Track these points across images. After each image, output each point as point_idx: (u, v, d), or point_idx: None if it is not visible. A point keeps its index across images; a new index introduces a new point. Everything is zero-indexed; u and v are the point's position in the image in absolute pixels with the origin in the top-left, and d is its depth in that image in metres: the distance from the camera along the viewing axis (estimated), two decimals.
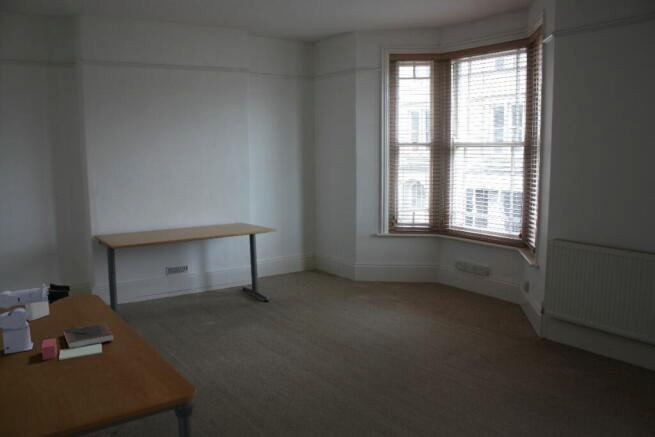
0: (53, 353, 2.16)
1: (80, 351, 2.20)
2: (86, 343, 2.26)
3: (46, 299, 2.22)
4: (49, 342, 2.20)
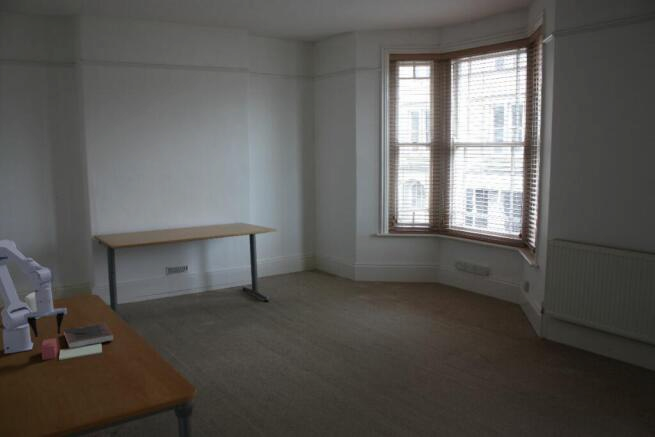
0: (53, 353, 2.16)
1: (80, 351, 2.20)
2: (86, 343, 2.26)
3: (24, 317, 2.15)
4: (49, 342, 2.20)
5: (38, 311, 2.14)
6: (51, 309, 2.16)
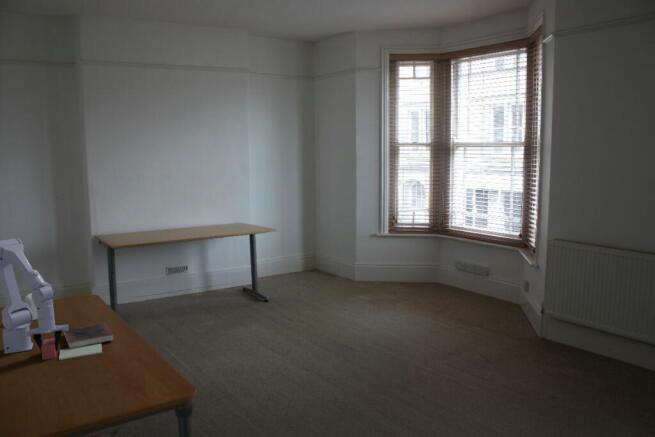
0: (53, 353, 2.15)
1: (80, 351, 2.20)
2: (86, 343, 2.26)
3: (26, 334, 2.16)
4: (49, 341, 2.20)
5: (40, 328, 2.15)
6: (53, 326, 2.17)
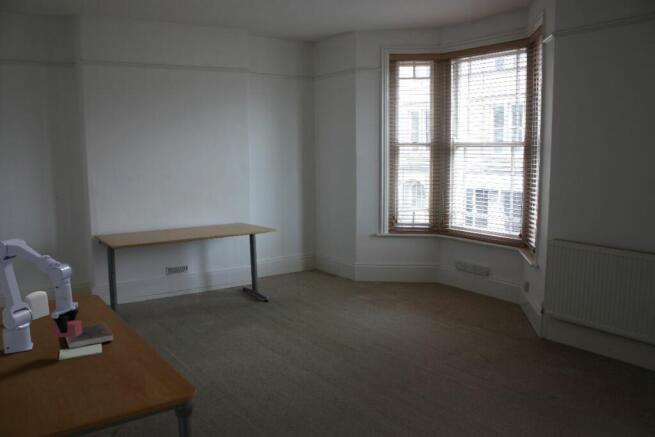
0: (80, 328, 2.20)
1: (80, 351, 2.20)
2: (86, 343, 2.26)
3: (53, 317, 2.11)
4: None
5: (65, 307, 2.15)
6: None
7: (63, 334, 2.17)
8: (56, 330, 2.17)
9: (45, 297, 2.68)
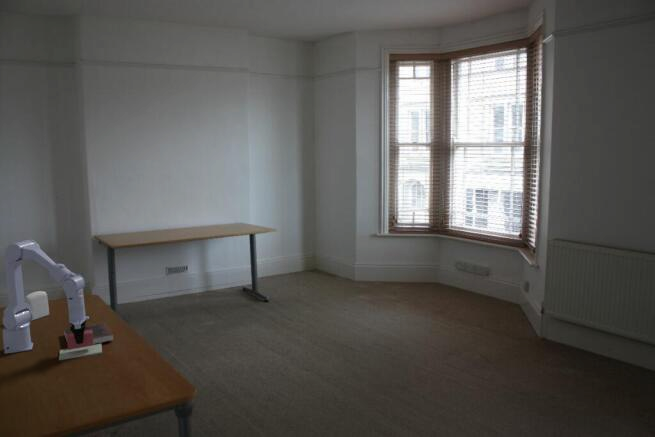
0: None
1: (80, 351, 2.20)
2: None
3: (77, 327, 2.12)
4: None
5: (82, 317, 2.17)
6: None
7: (79, 345, 2.18)
8: (70, 342, 2.17)
9: (45, 297, 2.68)
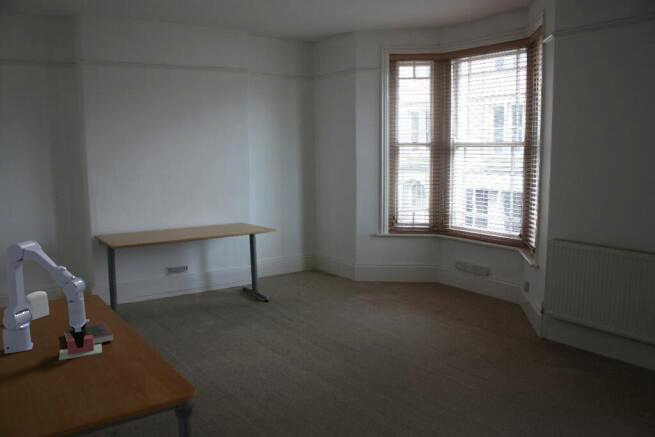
0: None
1: None
2: None
3: (77, 330, 2.13)
4: None
5: (82, 320, 2.18)
6: None
7: (79, 350, 2.18)
8: (71, 347, 2.17)
9: (45, 297, 2.68)
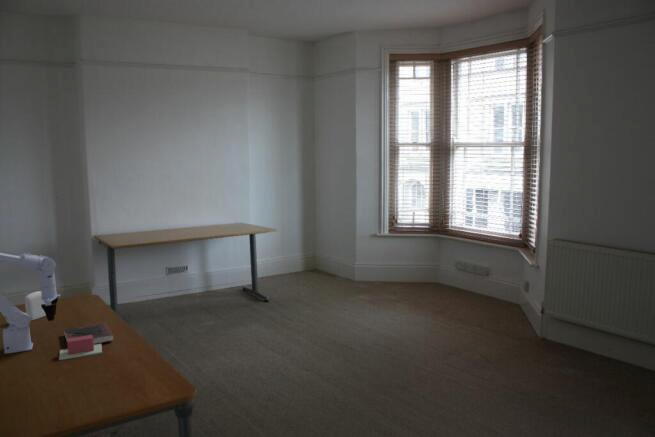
0: None
1: None
2: None
3: (47, 304, 2.27)
4: (77, 338, 2.20)
5: (53, 295, 2.32)
6: None
7: (79, 350, 2.18)
8: (71, 347, 2.17)
9: None
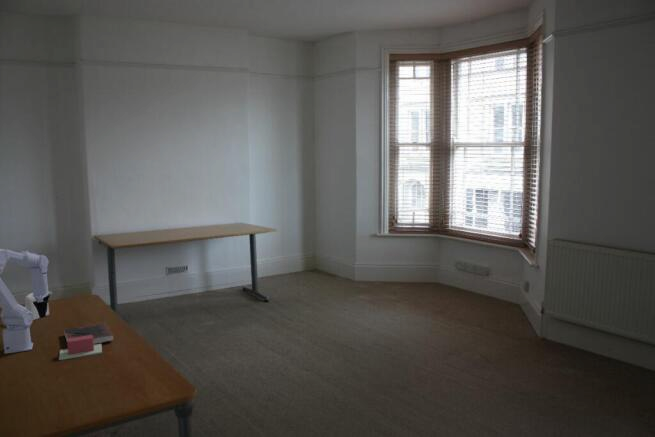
0: None
1: None
2: None
3: (39, 301, 2.32)
4: (77, 338, 2.20)
5: (45, 292, 2.37)
6: None
7: (79, 350, 2.18)
8: (71, 347, 2.17)
9: None
